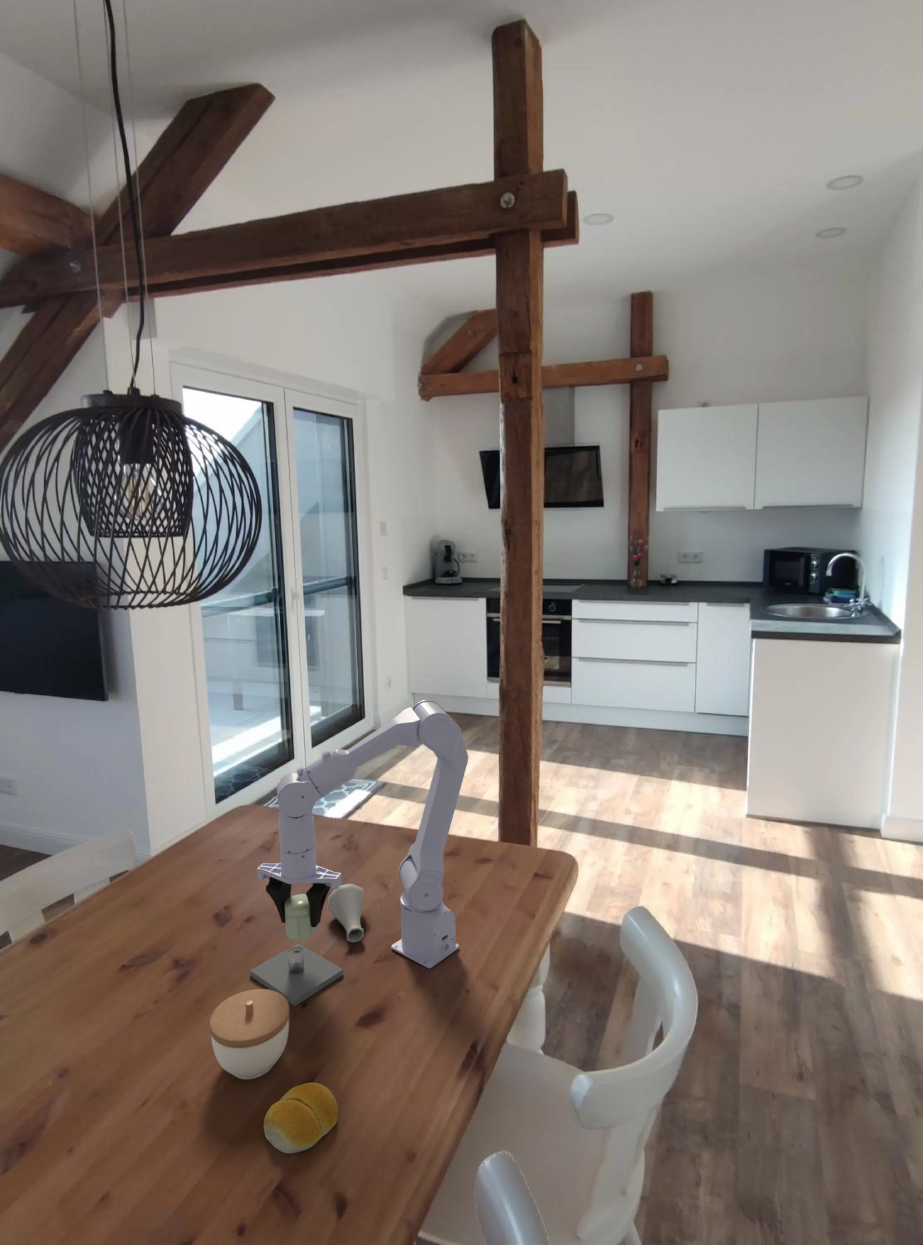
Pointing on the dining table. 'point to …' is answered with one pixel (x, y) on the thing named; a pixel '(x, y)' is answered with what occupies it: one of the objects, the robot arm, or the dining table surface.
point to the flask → (348, 909)
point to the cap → (298, 918)
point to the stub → (296, 960)
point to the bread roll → (301, 1118)
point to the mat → (299, 985)
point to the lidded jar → (250, 1032)
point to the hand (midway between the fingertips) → (301, 921)
